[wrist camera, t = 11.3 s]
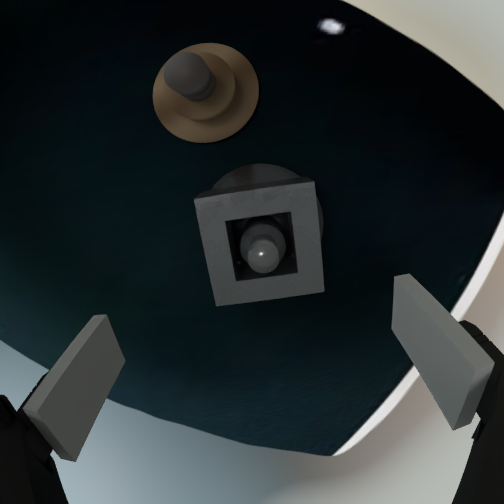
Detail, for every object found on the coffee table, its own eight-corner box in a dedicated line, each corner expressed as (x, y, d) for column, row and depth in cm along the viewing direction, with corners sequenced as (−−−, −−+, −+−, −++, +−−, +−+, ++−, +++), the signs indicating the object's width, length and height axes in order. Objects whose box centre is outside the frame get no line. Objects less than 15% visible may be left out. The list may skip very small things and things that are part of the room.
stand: (135, 91, 27) (93, 75, 18) (214, 26, 25) (199, -13, 16) (197, 164, 29) (174, 171, 21) (280, 98, 27) (290, 80, 19)
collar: (202, 191, 27) (194, 199, 23) (306, 176, 27) (314, 181, 23) (221, 285, 30) (216, 306, 26) (316, 273, 30) (324, 291, 26)
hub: (176, 216, 31) (145, 245, 22) (272, 138, 28) (279, 134, 19) (252, 302, 34) (250, 356, 25) (344, 235, 31) (376, 270, 22)
